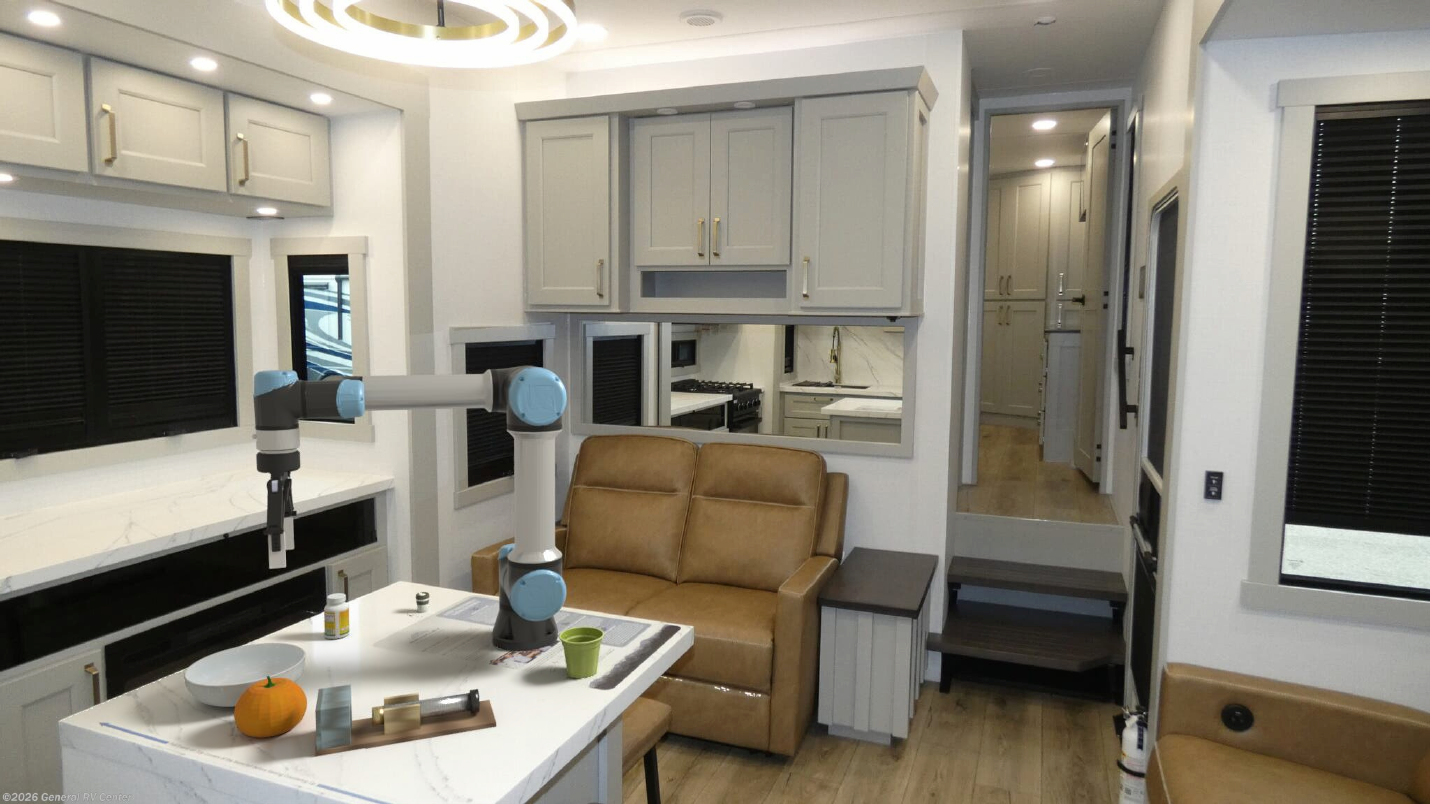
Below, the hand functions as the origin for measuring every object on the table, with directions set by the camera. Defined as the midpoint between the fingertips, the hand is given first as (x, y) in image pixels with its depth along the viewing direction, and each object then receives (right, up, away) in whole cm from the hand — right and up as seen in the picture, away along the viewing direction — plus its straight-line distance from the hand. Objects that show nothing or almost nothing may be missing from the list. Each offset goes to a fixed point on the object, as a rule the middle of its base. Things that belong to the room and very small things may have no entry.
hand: (282, 558), depth 164 cm
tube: (+32, -28, -10) cm, 43 cm away
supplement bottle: (-5, -25, +35) cm, 43 cm away
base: (+29, -29, -11) cm, 42 cm away
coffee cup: (+9, -24, +52) cm, 58 cm away
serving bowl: (-8, -28, +2) cm, 29 cm away
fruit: (+4, -29, -11) cm, 31 cm away
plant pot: (+56, -27, +14) cm, 64 cm away
